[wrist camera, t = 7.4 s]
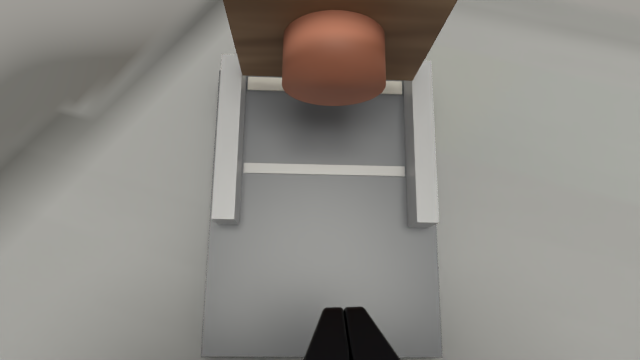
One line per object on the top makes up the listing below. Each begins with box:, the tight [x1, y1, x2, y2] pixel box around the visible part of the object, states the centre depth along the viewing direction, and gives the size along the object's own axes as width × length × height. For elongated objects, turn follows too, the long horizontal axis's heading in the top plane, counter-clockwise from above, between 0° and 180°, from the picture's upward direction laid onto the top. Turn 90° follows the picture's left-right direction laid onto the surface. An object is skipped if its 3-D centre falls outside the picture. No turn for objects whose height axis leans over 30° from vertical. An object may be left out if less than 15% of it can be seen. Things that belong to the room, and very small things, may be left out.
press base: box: [201, 54, 442, 358], centre depth 23 cm, size 14×11×3 cm
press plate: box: [223, 0, 457, 106], centre depth 18 cm, size 3×8×8 cm, turn 89°
